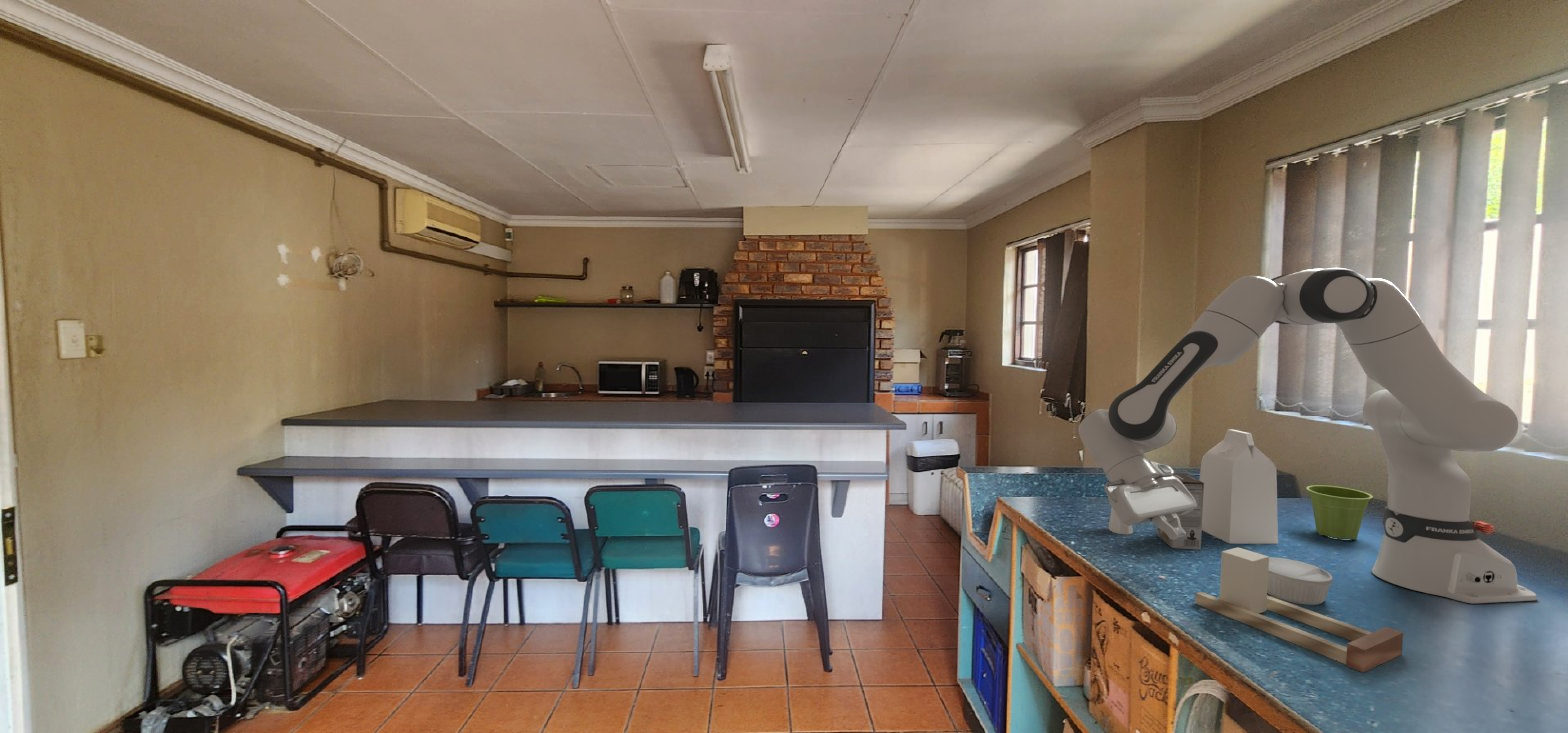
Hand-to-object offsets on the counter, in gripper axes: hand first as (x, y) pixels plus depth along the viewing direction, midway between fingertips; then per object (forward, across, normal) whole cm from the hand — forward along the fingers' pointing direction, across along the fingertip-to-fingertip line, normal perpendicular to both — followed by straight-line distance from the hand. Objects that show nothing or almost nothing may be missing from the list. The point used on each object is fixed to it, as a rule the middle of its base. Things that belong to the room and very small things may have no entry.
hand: (1179, 537), depth 116 cm
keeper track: (+20, 0, -6) cm, 21 cm away
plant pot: (+6, +63, +8) cm, 64 cm away
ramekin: (+15, +15, -2) cm, 22 cm away
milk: (-2, +42, +16) cm, 45 cm away
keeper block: (+15, 0, -2) cm, 15 cm away
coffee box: (-3, +24, +17) cm, 29 cm away
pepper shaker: (-11, +18, +25) cm, 33 cm away
